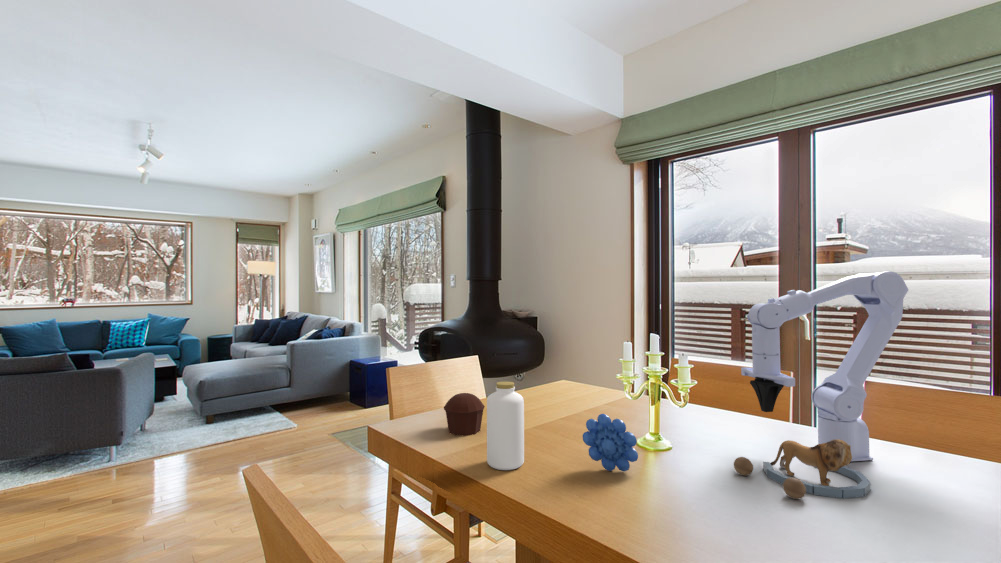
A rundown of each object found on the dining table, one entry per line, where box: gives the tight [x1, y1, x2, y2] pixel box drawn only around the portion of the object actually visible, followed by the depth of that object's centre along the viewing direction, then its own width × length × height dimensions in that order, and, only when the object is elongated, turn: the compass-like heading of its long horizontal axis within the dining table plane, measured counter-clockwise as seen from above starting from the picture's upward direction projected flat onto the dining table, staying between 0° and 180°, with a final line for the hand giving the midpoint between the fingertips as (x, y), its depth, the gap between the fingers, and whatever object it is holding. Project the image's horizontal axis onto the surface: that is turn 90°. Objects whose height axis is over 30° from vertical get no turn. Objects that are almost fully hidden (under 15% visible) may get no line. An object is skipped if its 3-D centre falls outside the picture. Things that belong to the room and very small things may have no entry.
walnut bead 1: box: [733, 456, 754, 476], centre depth 94 cm, size 4×4×4 cm
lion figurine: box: [770, 439, 852, 486], centre depth 93 cm, size 15×5×9 cm, turn 43°
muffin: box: [443, 392, 486, 437], centre depth 124 cm, size 12×11×10 cm
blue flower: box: [582, 413, 639, 472], centre depth 95 cm, size 12×7×12 cm, turn 70°
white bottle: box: [486, 381, 525, 471], centre depth 100 cm, size 8×8×18 cm
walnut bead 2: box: [782, 477, 807, 500], centre depth 83 cm, size 4×4×4 cm
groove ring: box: [762, 461, 872, 499], centre depth 91 cm, size 17×15×2 cm
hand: (767, 411), depth 107 cm, fingers closed
